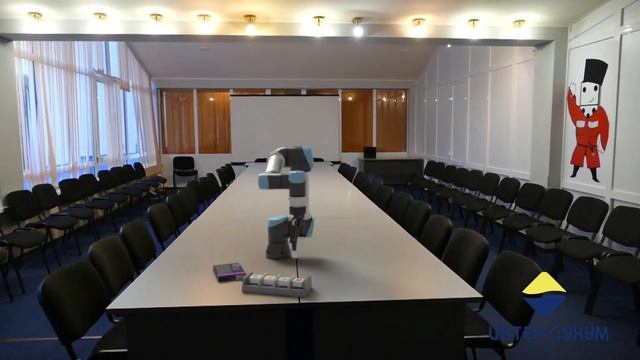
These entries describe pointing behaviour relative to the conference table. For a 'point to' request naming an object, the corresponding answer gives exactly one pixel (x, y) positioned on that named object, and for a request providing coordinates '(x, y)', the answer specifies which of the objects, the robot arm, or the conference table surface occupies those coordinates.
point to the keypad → (276, 286)
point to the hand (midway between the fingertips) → (298, 254)
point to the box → (228, 272)
